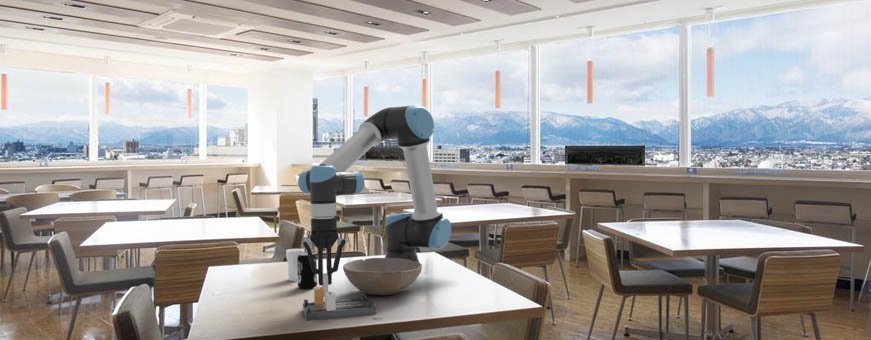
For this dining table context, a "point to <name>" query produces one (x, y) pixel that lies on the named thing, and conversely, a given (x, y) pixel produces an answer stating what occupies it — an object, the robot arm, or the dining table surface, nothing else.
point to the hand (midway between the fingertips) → (325, 295)
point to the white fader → (330, 301)
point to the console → (339, 309)
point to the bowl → (382, 274)
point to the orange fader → (318, 295)
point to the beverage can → (306, 271)
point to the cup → (293, 263)
